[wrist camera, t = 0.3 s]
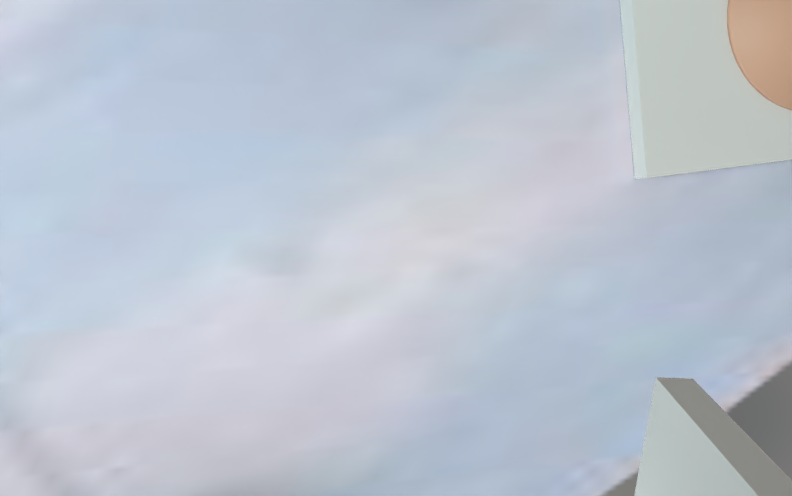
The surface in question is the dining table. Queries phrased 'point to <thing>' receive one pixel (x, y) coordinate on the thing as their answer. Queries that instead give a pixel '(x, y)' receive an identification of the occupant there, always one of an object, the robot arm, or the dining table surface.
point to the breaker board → (707, 83)
